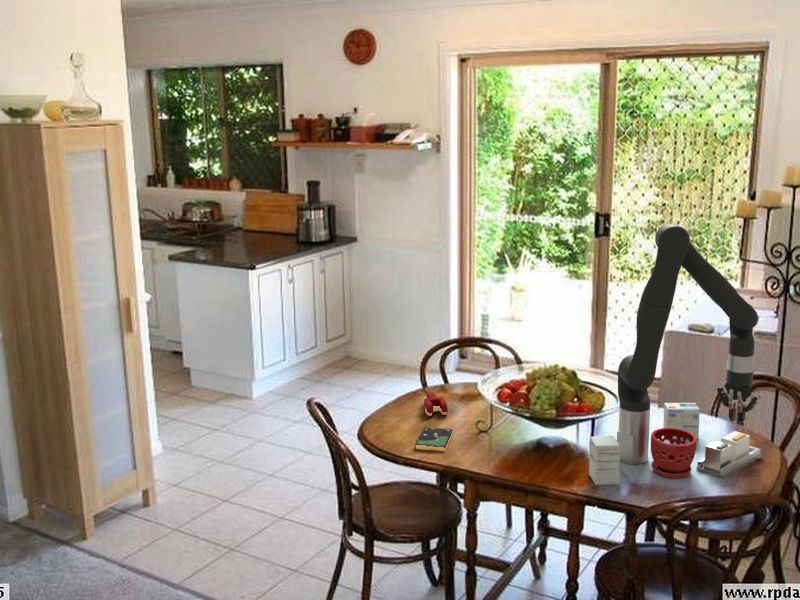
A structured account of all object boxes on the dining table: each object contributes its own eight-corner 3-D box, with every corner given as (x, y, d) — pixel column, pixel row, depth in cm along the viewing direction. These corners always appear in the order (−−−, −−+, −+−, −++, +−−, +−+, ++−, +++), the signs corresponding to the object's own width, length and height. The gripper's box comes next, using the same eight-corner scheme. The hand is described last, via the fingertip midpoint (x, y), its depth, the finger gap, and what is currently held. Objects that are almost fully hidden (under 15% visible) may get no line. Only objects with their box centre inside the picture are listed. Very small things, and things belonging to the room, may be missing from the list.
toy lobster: (447, 417, 305) (447, 404, 304) (428, 419, 304) (428, 406, 303) (439, 402, 320) (438, 390, 319) (420, 404, 319) (420, 391, 318)
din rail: (723, 478, 249) (725, 451, 247) (696, 469, 256) (697, 443, 254) (760, 457, 263) (762, 432, 261) (733, 449, 270) (735, 424, 268)
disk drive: (423, 434, 291) (415, 451, 277) (423, 427, 291) (414, 443, 276) (453, 436, 289) (446, 453, 275) (452, 428, 288) (445, 445, 274)
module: (735, 463, 257) (736, 440, 255) (719, 458, 261) (721, 436, 259) (748, 456, 262) (749, 433, 260) (733, 451, 266) (734, 429, 264)
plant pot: (642, 473, 254) (643, 437, 252) (661, 459, 264) (662, 424, 261) (683, 485, 246) (685, 447, 243) (701, 470, 255) (703, 433, 253)
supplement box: (588, 474, 255) (589, 435, 252) (612, 473, 255) (614, 435, 252) (594, 485, 248) (595, 445, 245) (619, 484, 248) (620, 444, 245)
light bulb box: (694, 432, 285) (696, 402, 282) (699, 439, 278) (700, 409, 276) (662, 431, 286) (663, 401, 283) (666, 439, 279) (667, 408, 277)
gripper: (712, 365, 257) (709, 418, 261) (755, 375, 247) (751, 431, 251) (725, 360, 262) (722, 412, 266) (768, 370, 252) (764, 424, 256)
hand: (736, 421), depth 258 cm, fingers closed
